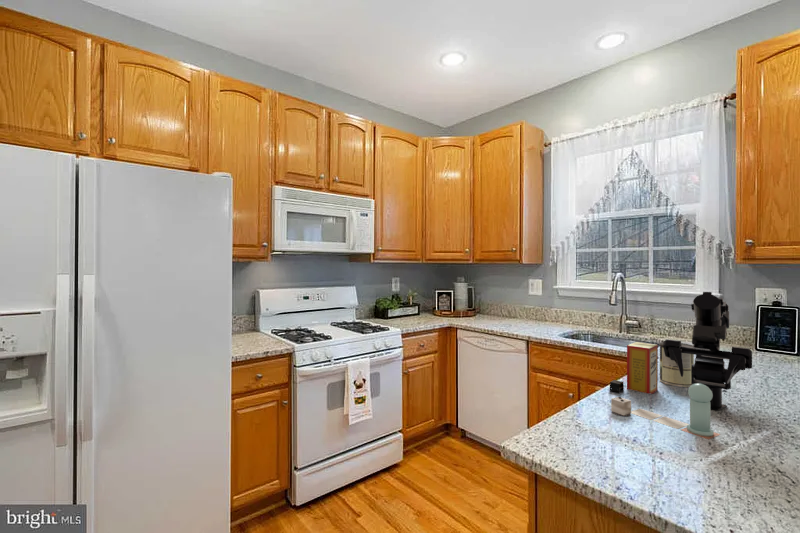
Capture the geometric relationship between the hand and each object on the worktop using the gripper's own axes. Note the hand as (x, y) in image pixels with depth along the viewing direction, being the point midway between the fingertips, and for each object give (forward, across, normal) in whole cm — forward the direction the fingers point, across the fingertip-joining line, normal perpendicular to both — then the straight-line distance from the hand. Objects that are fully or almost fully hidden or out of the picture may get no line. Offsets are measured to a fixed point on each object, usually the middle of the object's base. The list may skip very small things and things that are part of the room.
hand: (703, 379), depth 99 cm
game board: (+11, -6, +6) cm, 14 cm away
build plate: (0, -24, +19) cm, 30 cm away
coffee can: (-21, -11, +39) cm, 46 cm away
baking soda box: (-7, -18, +25) cm, 32 cm away
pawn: (+13, 0, +3) cm, 14 cm away
